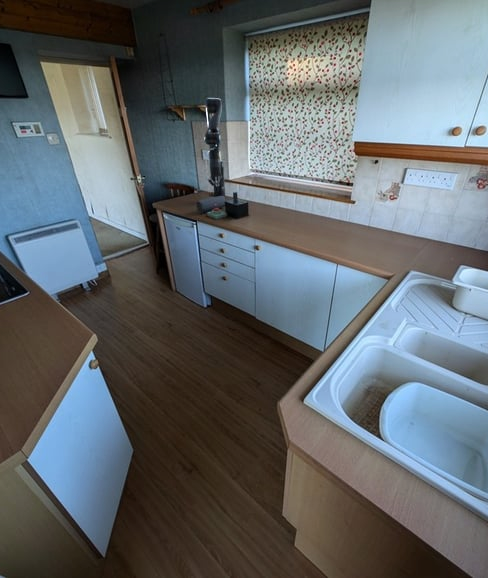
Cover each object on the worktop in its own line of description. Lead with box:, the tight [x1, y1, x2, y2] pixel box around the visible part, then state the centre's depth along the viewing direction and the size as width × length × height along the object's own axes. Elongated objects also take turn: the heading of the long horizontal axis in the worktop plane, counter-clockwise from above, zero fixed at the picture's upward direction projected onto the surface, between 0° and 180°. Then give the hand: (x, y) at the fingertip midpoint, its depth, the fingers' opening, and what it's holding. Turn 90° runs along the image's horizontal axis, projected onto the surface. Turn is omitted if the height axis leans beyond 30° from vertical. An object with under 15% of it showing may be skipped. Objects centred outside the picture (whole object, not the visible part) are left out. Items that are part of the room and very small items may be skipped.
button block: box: [206, 209, 228, 220], centre depth 216 cm, size 12×10×4 cm
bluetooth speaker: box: [196, 196, 227, 213], centre depth 226 cm, size 23×9×10 cm, turn 132°
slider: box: [232, 191, 239, 200], centre depth 216 cm, size 2×2×5 cm
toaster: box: [224, 198, 250, 220], centre depth 216 cm, size 14×11×10 cm
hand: (217, 191), depth 208 cm, fingers closed
